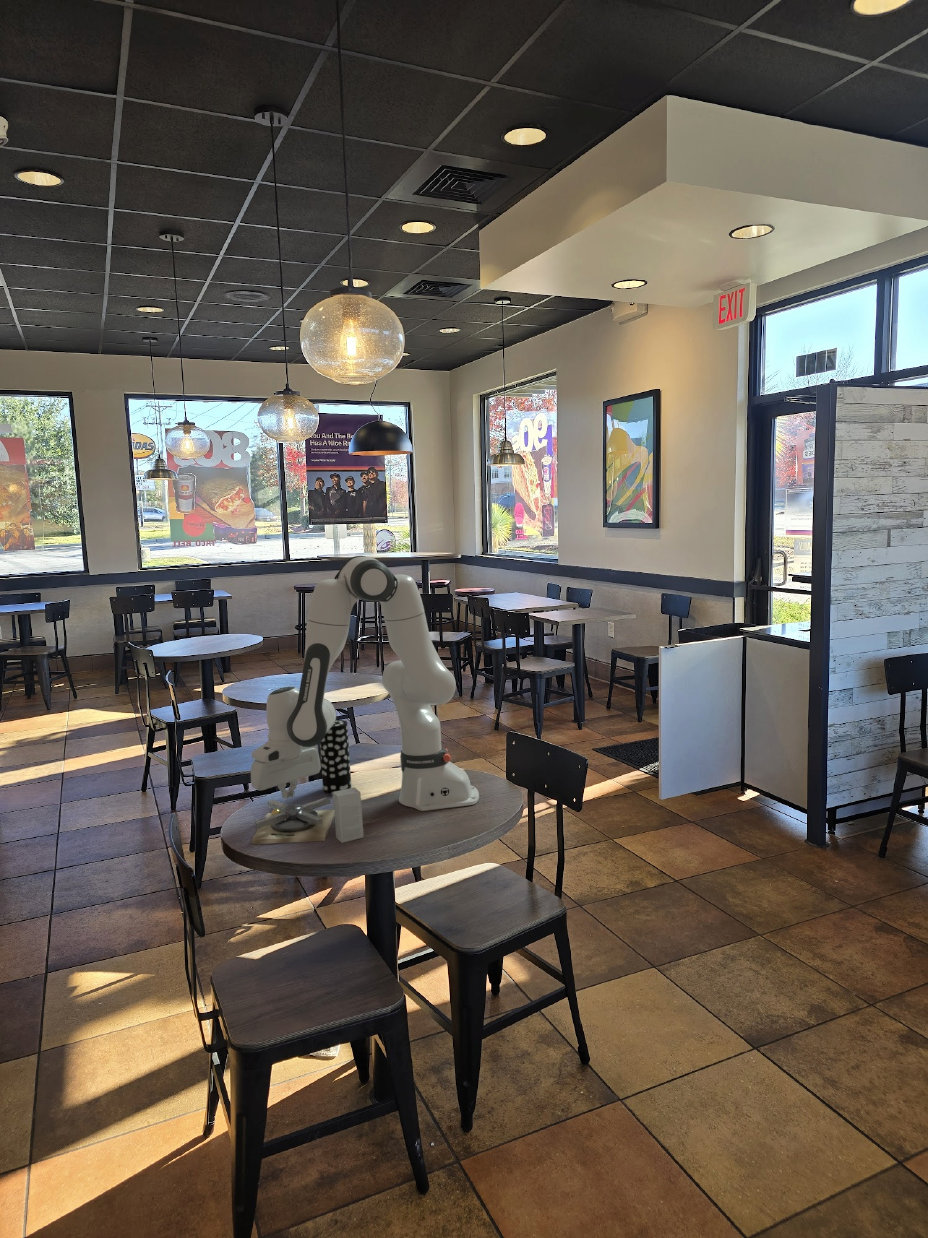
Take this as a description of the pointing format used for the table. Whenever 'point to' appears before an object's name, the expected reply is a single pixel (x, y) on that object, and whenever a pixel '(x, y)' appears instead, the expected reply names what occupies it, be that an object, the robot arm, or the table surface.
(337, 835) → the skincare box
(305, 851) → the table surface
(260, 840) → the beige base plate
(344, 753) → the spotted tube
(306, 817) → the capstan
